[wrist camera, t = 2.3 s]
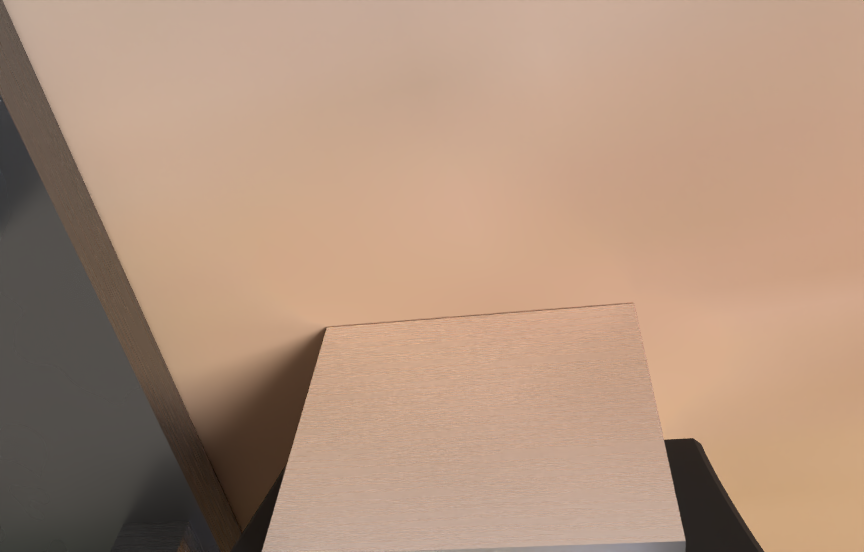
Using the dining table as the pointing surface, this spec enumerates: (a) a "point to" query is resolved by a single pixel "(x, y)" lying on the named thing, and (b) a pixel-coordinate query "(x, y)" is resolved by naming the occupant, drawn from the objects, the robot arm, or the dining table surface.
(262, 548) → the robot arm
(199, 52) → the dining table surface
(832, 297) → the dining table surface
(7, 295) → the press
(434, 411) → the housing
